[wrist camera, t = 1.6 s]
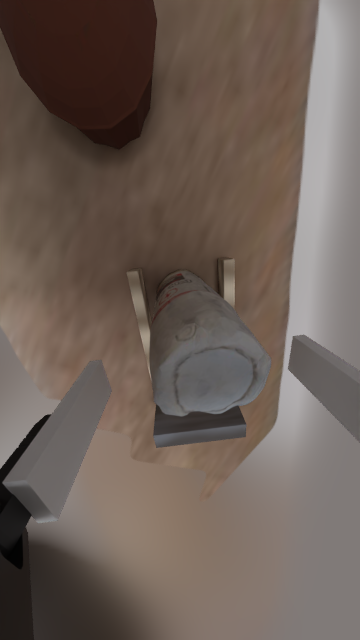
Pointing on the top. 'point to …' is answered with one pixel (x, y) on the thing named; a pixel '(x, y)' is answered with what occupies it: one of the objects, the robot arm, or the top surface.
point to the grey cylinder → (201, 350)
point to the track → (196, 422)
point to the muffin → (86, 61)
